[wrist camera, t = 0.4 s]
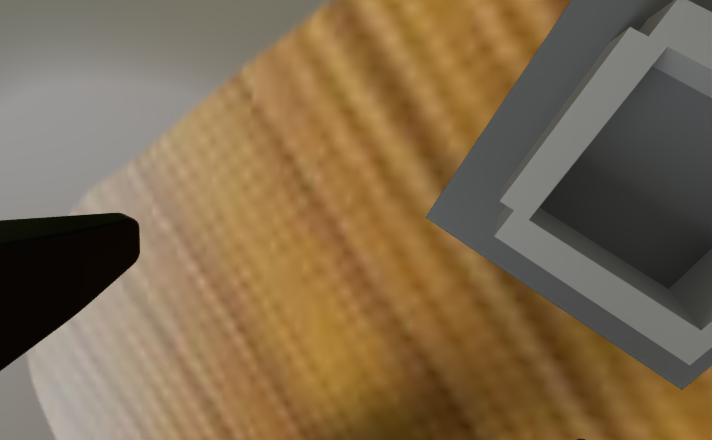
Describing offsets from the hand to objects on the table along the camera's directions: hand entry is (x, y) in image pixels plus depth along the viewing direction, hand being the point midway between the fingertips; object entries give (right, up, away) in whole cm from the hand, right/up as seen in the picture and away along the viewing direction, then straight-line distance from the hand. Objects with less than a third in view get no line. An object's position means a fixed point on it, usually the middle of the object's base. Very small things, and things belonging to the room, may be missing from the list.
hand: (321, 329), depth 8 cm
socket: (+13, +4, +10) cm, 16 cm away
